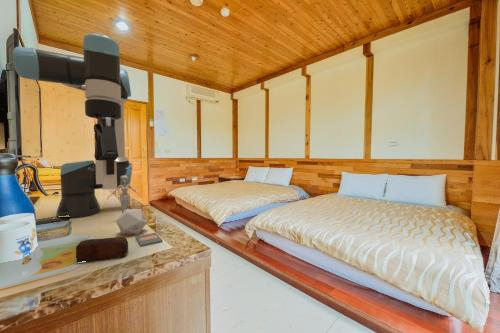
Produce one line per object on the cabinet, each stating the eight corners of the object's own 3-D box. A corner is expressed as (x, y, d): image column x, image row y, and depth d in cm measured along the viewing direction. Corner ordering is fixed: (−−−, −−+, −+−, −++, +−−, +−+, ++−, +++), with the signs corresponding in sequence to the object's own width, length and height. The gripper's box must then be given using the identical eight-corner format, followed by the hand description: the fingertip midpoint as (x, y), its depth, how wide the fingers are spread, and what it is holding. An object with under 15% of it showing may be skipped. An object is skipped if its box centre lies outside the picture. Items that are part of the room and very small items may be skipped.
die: (125, 241, 68) (146, 215, 71) (105, 226, 69) (125, 200, 72) (138, 241, 76) (156, 217, 78) (119, 227, 77) (137, 204, 80)
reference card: (135, 238, 69) (135, 236, 69) (155, 234, 73) (155, 232, 73) (140, 246, 63) (140, 244, 63) (162, 242, 66) (162, 239, 66)
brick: (75, 265, 53) (75, 245, 52) (81, 257, 56) (81, 239, 56) (126, 258, 56) (125, 240, 56) (128, 251, 60) (128, 234, 60)
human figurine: (107, 224, 83) (106, 176, 82) (107, 221, 86) (106, 175, 85) (142, 219, 89) (141, 175, 88) (141, 217, 92) (140, 174, 92)
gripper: (81, 108, 62) (83, 183, 63) (89, 86, 43) (92, 193, 44) (112, 111, 67) (114, 181, 68) (131, 93, 48) (133, 190, 49)
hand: (105, 186), depth 56 cm, fingers open, 13 cm apart
